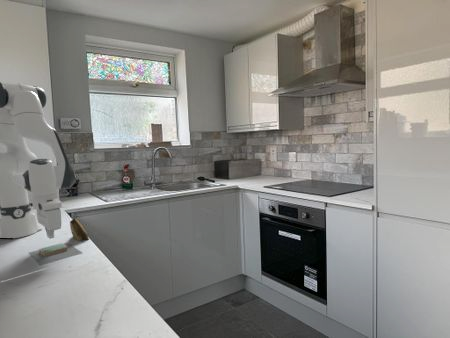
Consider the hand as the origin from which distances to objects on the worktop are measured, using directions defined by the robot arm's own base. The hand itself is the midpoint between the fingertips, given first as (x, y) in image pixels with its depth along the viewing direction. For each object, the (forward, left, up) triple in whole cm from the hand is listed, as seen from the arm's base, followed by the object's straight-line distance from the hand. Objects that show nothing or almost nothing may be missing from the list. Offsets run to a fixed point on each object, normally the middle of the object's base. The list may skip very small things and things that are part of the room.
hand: (50, 237), depth 122 cm
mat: (+3, 0, -6) cm, 7 cm away
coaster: (-2, 0, -4) cm, 5 cm away
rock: (-8, +13, -6) cm, 16 cm away
